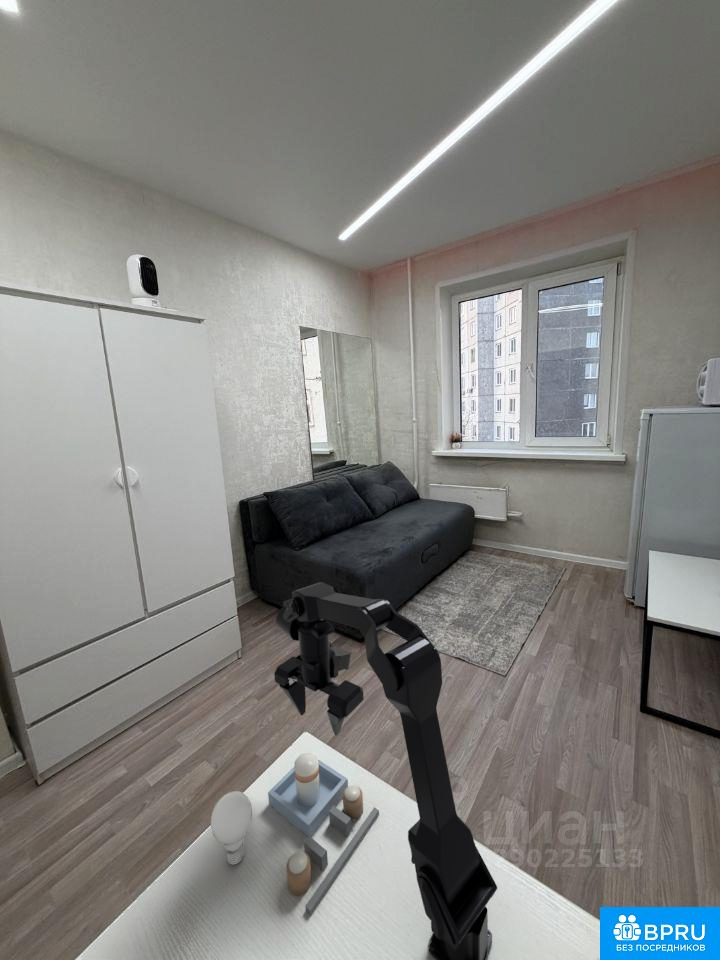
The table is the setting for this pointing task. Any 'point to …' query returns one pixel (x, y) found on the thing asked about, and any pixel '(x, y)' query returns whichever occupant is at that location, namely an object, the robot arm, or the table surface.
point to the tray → (313, 816)
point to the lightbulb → (232, 823)
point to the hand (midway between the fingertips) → (319, 723)
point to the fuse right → (353, 802)
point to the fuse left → (298, 873)
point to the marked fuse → (307, 779)
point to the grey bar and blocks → (320, 855)
